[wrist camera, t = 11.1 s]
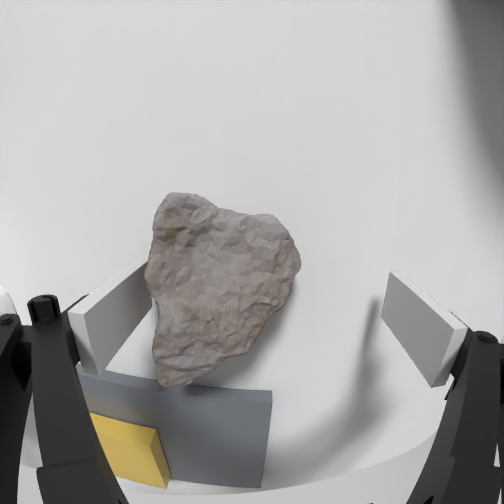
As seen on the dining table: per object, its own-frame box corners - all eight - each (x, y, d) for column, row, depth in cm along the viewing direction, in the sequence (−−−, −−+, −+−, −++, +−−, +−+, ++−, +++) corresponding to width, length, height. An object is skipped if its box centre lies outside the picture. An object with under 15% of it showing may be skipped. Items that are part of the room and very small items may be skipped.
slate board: (73, 442, 24) (69, 448, 22) (30, 349, 20) (23, 355, 19) (260, 479, 23) (260, 488, 22) (271, 390, 19) (272, 401, 18)
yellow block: (76, 406, 20) (101, 455, 22) (66, 421, 18) (94, 468, 20) (156, 427, 20) (170, 472, 22) (149, 446, 18) (166, 488, 20)
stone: (255, 359, 19) (252, 423, 13) (141, 323, 18) (105, 374, 13) (308, 221, 16) (332, 247, 11) (172, 179, 16) (128, 184, 10)
